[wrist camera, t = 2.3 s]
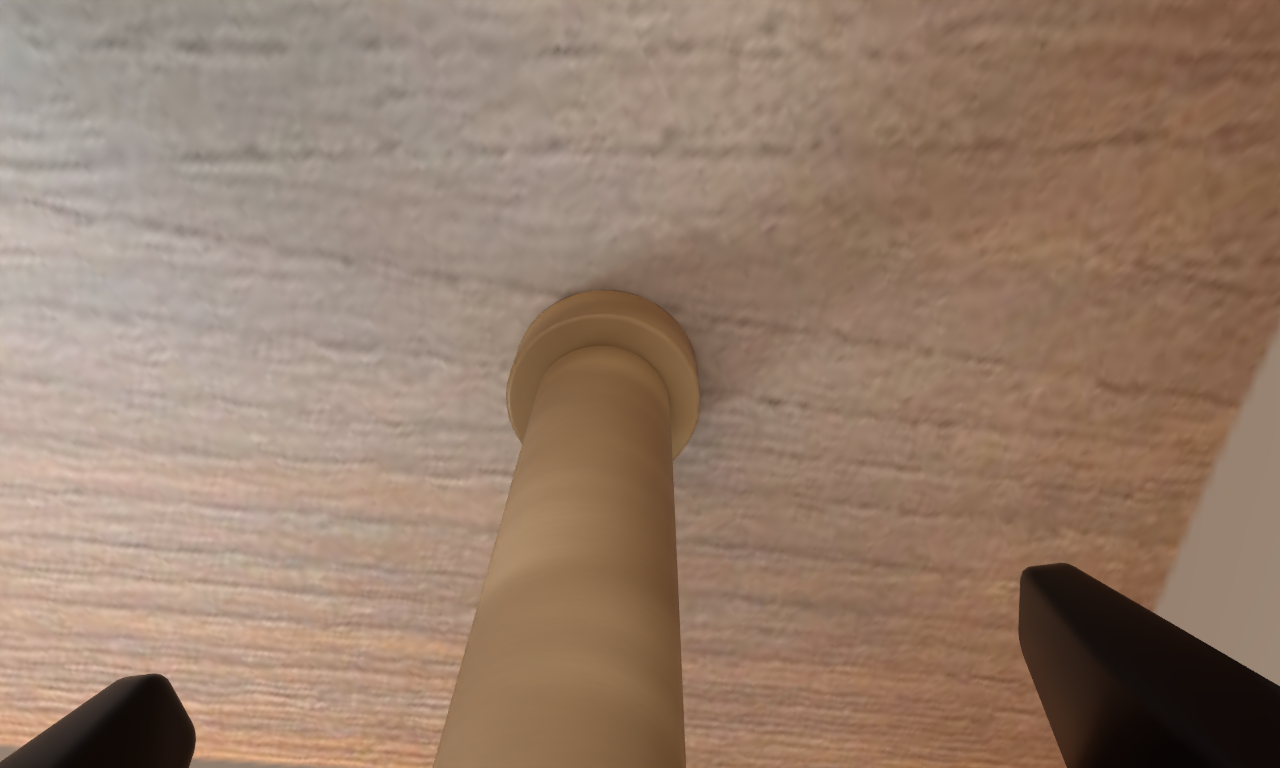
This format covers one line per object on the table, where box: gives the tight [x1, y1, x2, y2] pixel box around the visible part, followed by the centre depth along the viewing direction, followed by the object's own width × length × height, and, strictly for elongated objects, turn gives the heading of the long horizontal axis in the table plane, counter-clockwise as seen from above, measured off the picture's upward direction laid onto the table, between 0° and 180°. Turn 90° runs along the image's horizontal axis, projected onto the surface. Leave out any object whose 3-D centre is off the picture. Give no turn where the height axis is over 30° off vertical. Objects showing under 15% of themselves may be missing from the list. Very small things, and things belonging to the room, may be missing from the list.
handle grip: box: [433, 290, 700, 768], centre depth 9 cm, size 3×3×12 cm
